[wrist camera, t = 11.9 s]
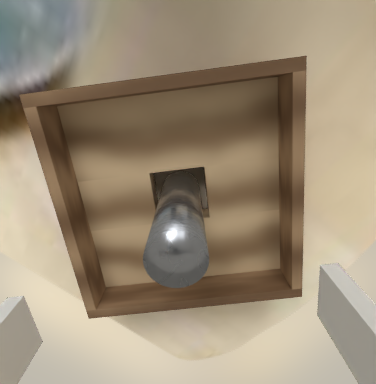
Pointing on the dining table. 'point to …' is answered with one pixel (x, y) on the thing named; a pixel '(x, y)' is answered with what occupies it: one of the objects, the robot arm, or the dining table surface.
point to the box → (175, 160)
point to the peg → (177, 234)
